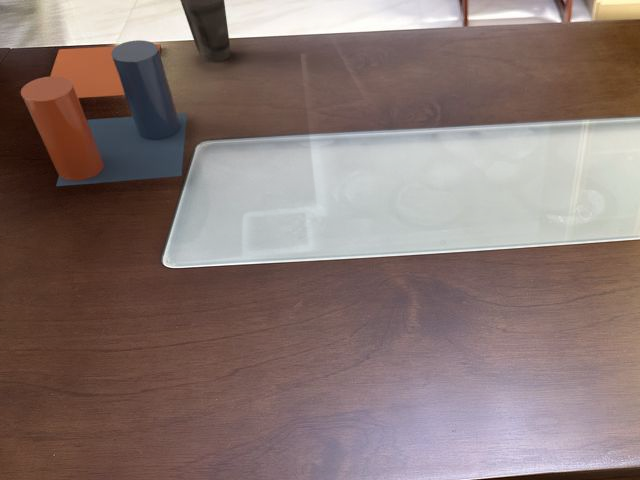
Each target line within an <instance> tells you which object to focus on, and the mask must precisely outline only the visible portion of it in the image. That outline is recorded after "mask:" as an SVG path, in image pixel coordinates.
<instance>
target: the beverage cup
mask: <svg viewBox="0 0 640 480" xmlns="http://www.w3.org/2000/svg"><path fill="white" fill-rule="evenodd" d="M179 1H180V3H181V6H182V10H183V12H184V16H185V18H186V21H187V24H188V28H189V30H190V33H191V36H192V39H193V41H194V44H195V47H196V51H197V53H198V54H199V57H200V58H201V60H203V61H205V62H208V63H216V62H217V63H218V62H223V61H225V60H227V59H228V58H230V56H231V44H230V36H229V28H228V20H227V12H226V11H227V10H226V4H225V0H179Z"/></svg>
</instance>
